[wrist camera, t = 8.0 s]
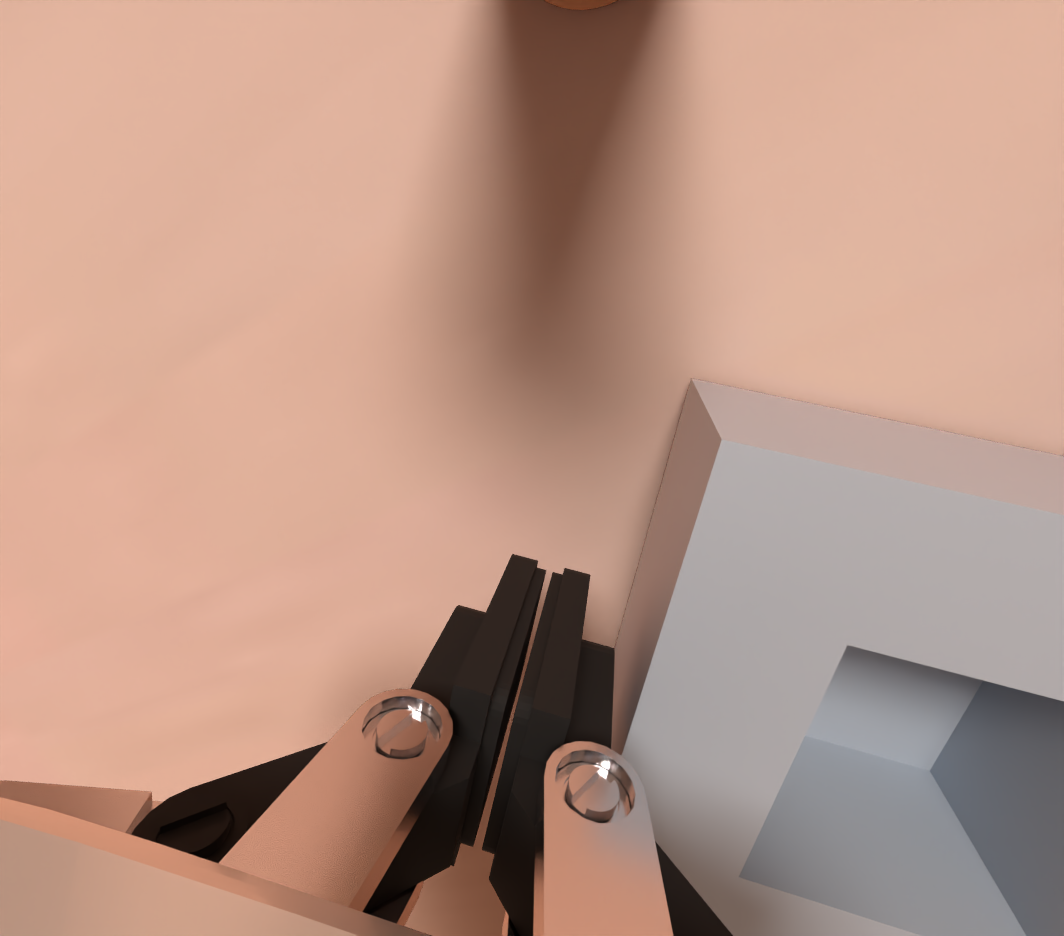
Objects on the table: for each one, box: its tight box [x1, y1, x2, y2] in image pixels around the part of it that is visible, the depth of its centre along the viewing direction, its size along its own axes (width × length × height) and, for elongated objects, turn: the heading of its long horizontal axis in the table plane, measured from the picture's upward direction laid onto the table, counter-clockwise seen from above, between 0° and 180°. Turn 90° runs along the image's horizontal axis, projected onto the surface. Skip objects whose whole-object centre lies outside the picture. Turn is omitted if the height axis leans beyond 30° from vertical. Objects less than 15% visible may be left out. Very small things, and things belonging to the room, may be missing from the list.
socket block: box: [611, 378, 1064, 936], centre depth 11 cm, size 10×10×5 cm
